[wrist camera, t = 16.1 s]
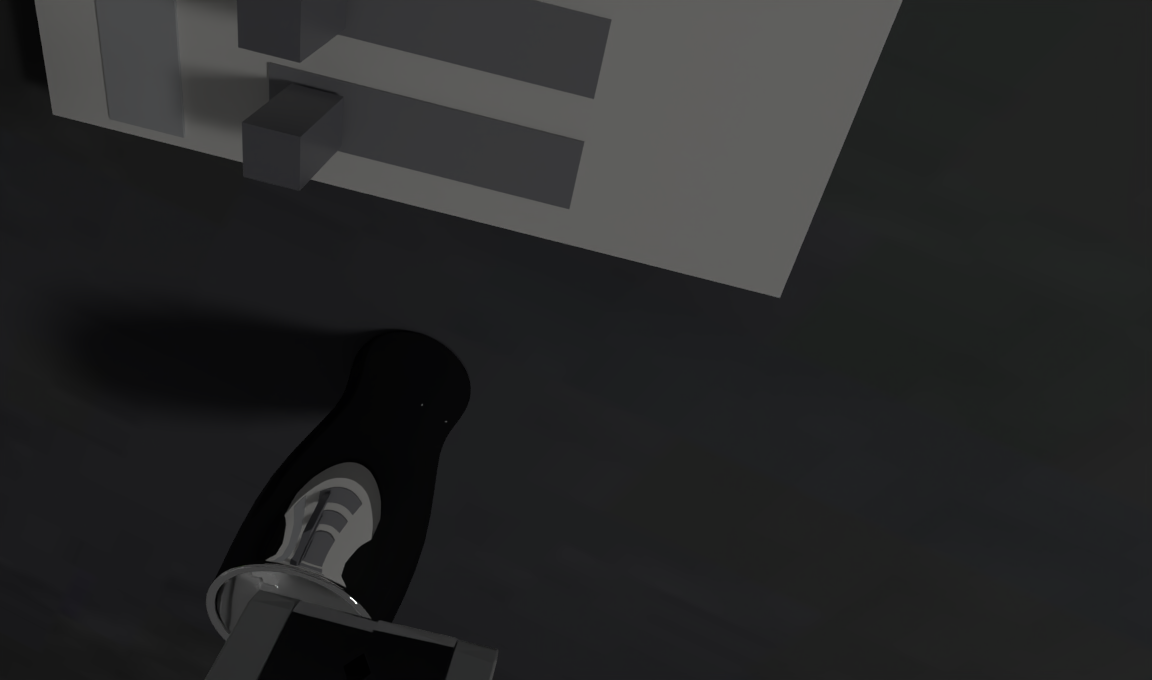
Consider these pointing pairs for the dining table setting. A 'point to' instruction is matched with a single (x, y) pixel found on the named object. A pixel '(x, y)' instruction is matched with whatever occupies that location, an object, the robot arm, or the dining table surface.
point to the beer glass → (352, 490)
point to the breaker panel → (511, 111)
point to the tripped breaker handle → (289, 26)
